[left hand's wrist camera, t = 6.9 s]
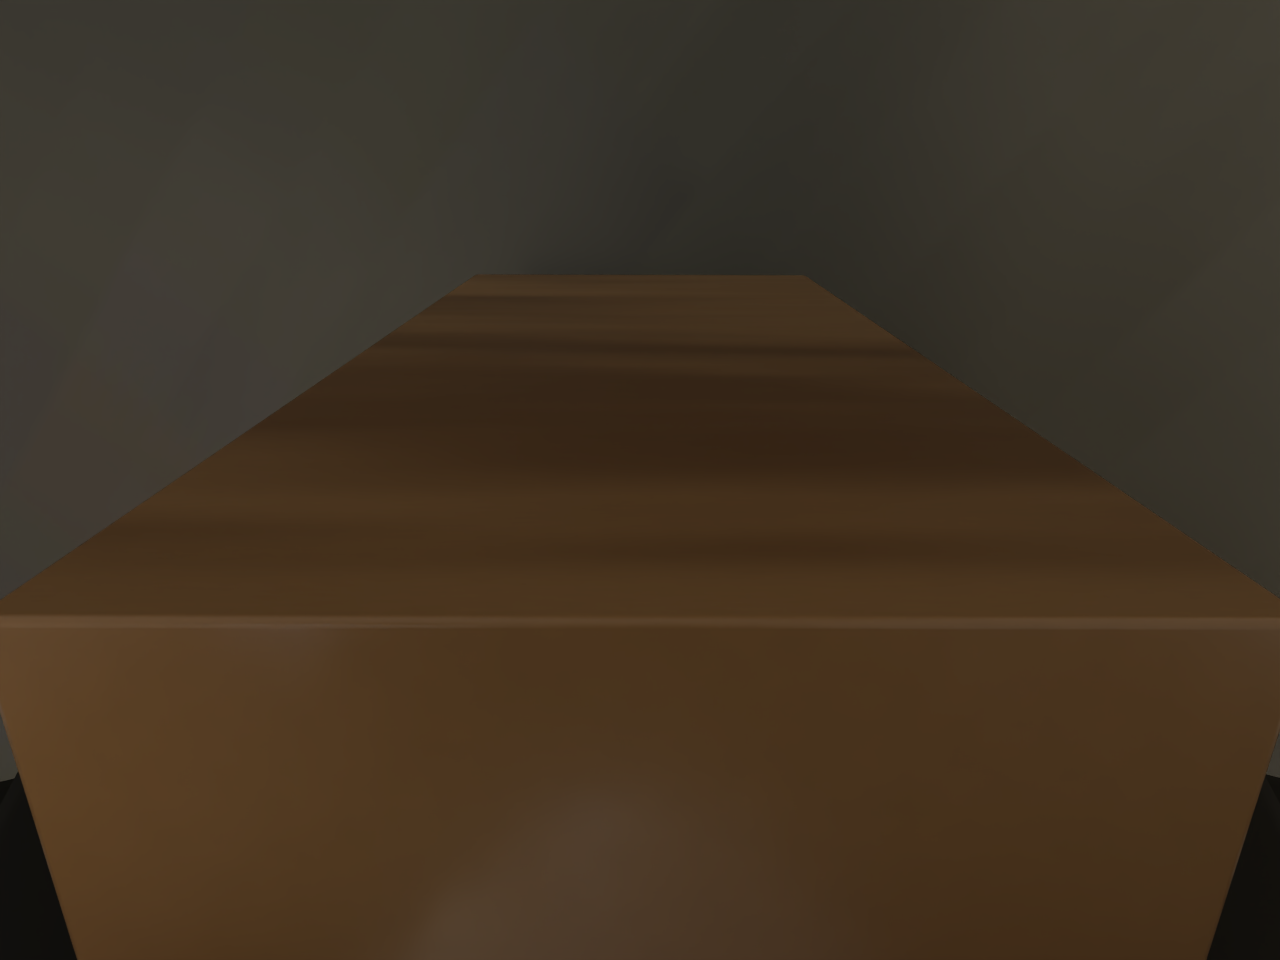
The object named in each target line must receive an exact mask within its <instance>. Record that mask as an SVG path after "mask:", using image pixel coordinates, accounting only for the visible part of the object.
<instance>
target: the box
mask: <svg viewBox="0 0 1280 960" xmlns="http://www.w3.org/2000/svg"><path fill="white" fill-rule="evenodd" d="M0 714H1V717H2V720H3V723H4V726H5V730H6V733H7V736H8V739H9V742H10V746H11V749H12V752H13V755H14V758H15V762H16V765H17V768H18V771H19V775H20V778H21V781H22V784H23V787H24V791H25V794H26V797H27V800H28V803H29V807H30V810H31V813H32V816H33V820H34V823H35V826H36V829H37V832H38V836H39V839H40V842H41V845H42V848H43V852H44V855H45V858H46V861H47V864H48V868H49V871H50V874H51V877H52V881H53V884H54V887H55V890H56V893H57V897H58V900H59V903H60V906H61V909H62V913H63V916H64V919H65V922H66V925H67V929H68V932H69V935H70V938H71V942H72V945H73V948H74V951H75V954H76V958H77V960H1206V959H1207V956H1208V953H1209V950H1210V947H1211V944H1212V941H1213V938H1214V934H1215V931H1216V928H1217V925H1218V922H1219V919H1220V916H1221V913H1222V909H1223V906H1224V903H1225V900H1226V897H1227V894H1228V891H1229V888H1230V884H1231V881H1232V878H1233V875H1234V872H1235V869H1236V866H1237V863H1238V859H1239V856H1240V853H1241V850H1242V847H1243V844H1244V841H1245V838H1246V834H1247V831H1248V828H1249V825H1250V822H1251V819H1252V816H1253V813H1254V809H1255V806H1256V803H1257V800H1258V797H1259V794H1260V791H1261V787H1262V784H1263V781H1264V778H1265V775H1266V772H1267V769H1268V766H1269V762H1270V759H1271V756H1272V753H1273V750H1274V747H1275V744H1276V741H1277V737H1278V734H1279V731H1280V598H1278V597H1277V596H1275V595H1274V594H1272V593H1271V592H1269V591H1268V590H1267V589H1265V588H1264V587H1262V586H1261V585H1259V584H1258V583H1256V582H1255V581H1253V580H1252V579H1250V578H1249V577H1247V576H1246V575H1245V574H1243V573H1242V572H1240V571H1239V570H1237V569H1236V568H1234V567H1233V566H1231V565H1230V564H1228V563H1227V562H1225V561H1224V560H1222V559H1221V558H1220V557H1218V556H1217V555H1215V554H1214V553H1212V552H1211V551H1209V550H1208V549H1206V548H1205V547H1203V546H1202V545H1200V544H1199V543H1197V542H1196V541H1195V540H1193V539H1192V538H1190V537H1189V536H1187V535H1186V534H1184V533H1183V532H1181V531H1180V530H1178V529H1177V528H1175V527H1174V526H1172V525H1171V524H1170V523H1168V522H1167V521H1165V520H1164V519H1162V518H1161V517H1159V516H1158V515H1156V514H1155V513H1153V512H1152V511H1150V510H1149V509H1147V508H1146V507H1145V506H1143V505H1142V504H1140V503H1139V502H1137V501H1136V500H1134V499H1133V498H1131V497H1130V496H1128V495H1127V494H1125V493H1124V492H1122V491H1121V490H1120V489H1118V488H1117V487H1115V486H1114V485H1112V484H1111V483H1109V482H1108V481H1106V480H1105V479H1103V478H1102V477H1100V476H1099V475H1097V474H1096V473H1095V472H1093V471H1092V470H1090V469H1089V468H1087V467H1086V466H1084V465H1083V464H1081V463H1080V462H1078V461H1077V460H1075V459H1074V458H1072V457H1071V456H1070V455H1068V454H1067V453H1065V452H1064V451H1062V450H1061V449H1059V448H1058V447H1056V446H1055V445H1053V444H1052V443H1050V442H1049V441H1047V440H1046V439H1045V438H1043V437H1042V436H1040V435H1039V434H1037V433H1036V432H1034V431H1033V430H1031V429H1030V428H1028V427H1027V426H1025V425H1024V424H1022V423H1021V422H1020V421H1018V420H1017V419H1015V418H1014V417H1012V416H1011V415H1009V414H1008V413H1006V412H1005V411H1003V410H1002V409H1000V408H999V407H997V406H996V405H995V404H993V403H992V402H990V401H989V400H987V399H986V398H984V397H983V396H981V395H980V394H978V393H977V392H975V391H974V390H972V389H971V388H970V387H968V386H967V385H965V384H964V383H962V382H961V381H959V380H958V379H956V378H955V377H953V376H952V375H950V374H949V373H947V372H946V371H945V370H943V369H942V368H940V367H939V366H937V365H936V364H934V363H933V362H931V361H930V360H928V359H927V358H925V357H924V356H922V355H921V354H920V353H918V352H917V351H915V350H914V349H912V348H911V347H909V346H908V345H906V344H905V343H903V342H902V341H900V340H899V339H898V338H896V337H895V336H893V335H892V334H890V333H889V332H887V331H886V330H884V329H883V328H881V327H880V326H878V325H877V324H875V323H874V322H873V321H871V320H870V319H868V318H867V317H865V316H864V315H862V314H861V313H859V312H858V311H856V310H855V309H853V308H852V307H850V306H849V305H848V304H846V303H845V302H843V301H842V300H840V299H839V298H837V297H836V296H834V295H833V294H831V293H830V292H828V291H827V290H825V289H824V288H823V287H821V286H820V285H818V284H817V283H815V282H814V281H812V280H811V279H809V278H808V277H806V276H804V275H481V274H477V275H475V276H473V277H472V278H470V279H469V280H467V281H466V282H465V283H463V284H462V285H460V286H459V287H457V288H456V289H454V290H453V291H451V292H450V293H448V294H447V295H446V296H444V297H443V298H441V299H440V300H438V301H437V302H435V303H434V304H432V305H431V306H429V307H428V308H427V309H425V310H424V311H422V312H421V313H419V314H418V315H416V316H415V317H413V318H412V319H410V320H409V321H407V322H406V323H405V324H403V325H402V326H400V327H399V328H397V329H396V330H394V331H393V332H391V333H390V334H388V335H387V336H386V337H384V338H383V339H381V340H380V341H378V342H377V343H375V344H374V345H372V346H371V347H369V348H368V349H367V350H365V351H364V352H362V353H361V354H359V355H358V356H356V357H355V358H353V359H352V360H350V361H349V362H348V363H346V364H345V365H343V366H342V367H340V368H339V369H337V370H336V371H334V372H333V373H331V374H330V375H329V376H327V377H326V378H324V379H323V380H321V381H320V382H318V383H317V384H315V385H314V386H312V387H311V388H309V389H308V390H307V391H305V392H304V393H302V394H301V395H299V396H298V397H296V398H295V399H293V400H292V401H290V402H289V403H288V404H286V405H285V406H283V407H282V408H280V409H279V410H277V411H276V412H274V413H273V414H271V415H270V416H269V417H267V418H266V419H264V420H263V421H261V422H260V423H258V424H257V425H255V426H254V427H252V428H251V429H250V430H248V431H247V432H245V433H244V434H242V435H241V436H239V437H238V438H236V439H235V440H233V441H232V442H231V443H229V444H228V445H226V446H225V447H223V448H222V449H220V450H219V451H217V452H216V453H214V454H213V455H211V456H210V457H209V458H207V459H206V460H204V461H203V462H201V463H200V464H198V465H197V466H195V467H194V468H192V469H191V470H190V471H188V472H187V473H185V474H184V475H182V476H181V477H179V478H178V479H176V480H175V481H173V482H172V483H171V484H169V485H168V486H166V487H165V488H163V489H162V490H160V491H159V492H157V493H156V494H154V495H153V496H152V497H150V498H149V499H147V500H146V501H144V502H143V503H141V504H140V505H138V506H137V507H135V508H134V509H133V510H131V511H130V512H128V513H127V514H125V515H124V516H122V517H121V518H119V519H118V520H116V521H115V522H113V523H112V524H111V525H109V526H108V527H106V528H105V529H103V530H102V531H100V532H99V533H97V534H96V535H94V536H93V537H92V538H90V539H89V540H87V541H86V542H84V543H83V544H81V545H80V546H78V547H77V548H75V549H74V550H73V551H71V552H70V553H68V554H67V555H65V556H64V557H62V558H61V559H59V560H58V561H56V562H55V563H54V564H52V565H51V566H49V567H48V568H46V569H45V570H43V571H42V572H40V573H39V574H37V575H36V576H35V577H33V578H32V579H30V580H29V581H27V582H26V583H24V584H23V585H21V586H20V587H18V588H17V589H15V590H14V591H13V592H11V593H10V594H8V595H7V596H5V597H4V598H2V599H1V600H0Z"/></svg>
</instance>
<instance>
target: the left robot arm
mask: <svg viewBox="0 0 1280 960" xmlns="http://www.w3.org/2000/svg"><path fill="white" fill-rule="evenodd" d="M0 960H77V958H76V954H75V951H74V948H73V945H72V942H71V938H70V935H69V932H68V929H67V925H66V922H65V919H64V916H63V913H62V909H61V906H60V903H59V900H58V897H57V893H56V890H55V887H54V884H53V881H52V877H51V874H50V871H49V868H48V864H47V861H46V858H45V855H44V852H43V848H42V845H41V842H40V839H39V836H38V832H37V829H36V826H35V823H34V820H33V816H32V813H31V810H30V807H29V803H28V800H27V797H26V794H25V791H24V787H23V784H22V781H21V778H20V775H19V771H18V773H17V775H16V776H15V778H14V779H11V780H7V781H2V782H0ZM1206 960H1280V778H1278V777H1274V776H1270V775H1265V778H1264V781H1263V784H1262V787H1261V791H1260V794H1259V797H1258V800H1257V803H1256V806H1255V809H1254V813H1253V816H1252V819H1251V822H1250V825H1249V828H1248V831H1247V834H1246V838H1245V841H1244V844H1243V847H1242V850H1241V853H1240V856H1239V859H1238V863H1237V866H1236V869H1235V872H1234V875H1233V878H1232V881H1231V884H1230V888H1229V891H1228V894H1227V897H1226V900H1225V903H1224V906H1223V909H1222V913H1221V916H1220V919H1219V922H1218V925H1217V928H1216V931H1215V934H1214V938H1213V941H1212V944H1211V947H1210V950H1209V953H1208V956H1207V959H1206Z"/></svg>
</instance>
